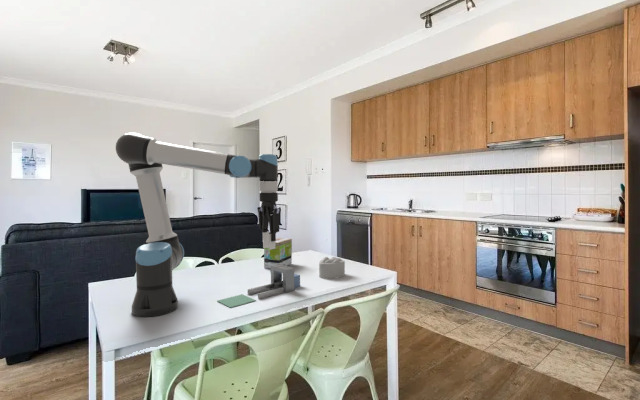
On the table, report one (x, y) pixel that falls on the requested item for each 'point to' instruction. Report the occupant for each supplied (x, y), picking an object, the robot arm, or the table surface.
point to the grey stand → (276, 277)
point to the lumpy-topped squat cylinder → (331, 268)
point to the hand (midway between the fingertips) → (269, 248)
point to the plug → (296, 282)
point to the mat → (236, 301)
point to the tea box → (279, 253)
